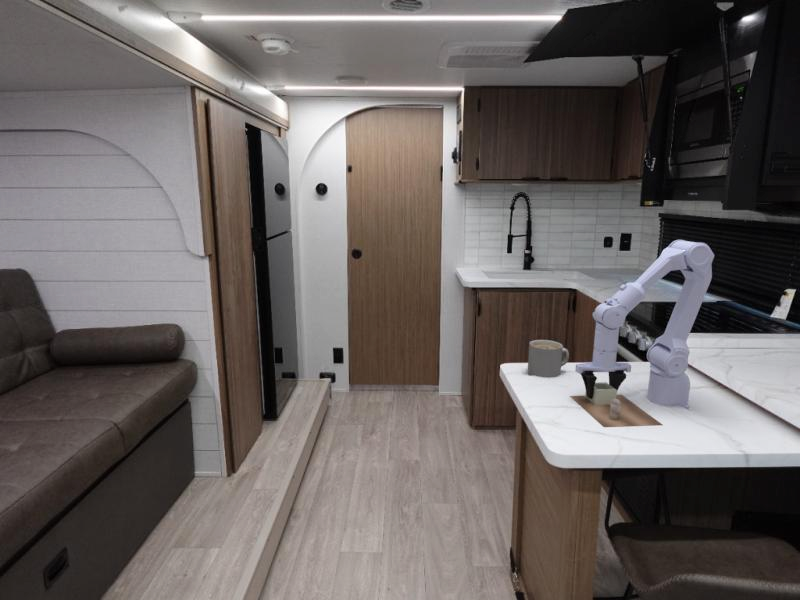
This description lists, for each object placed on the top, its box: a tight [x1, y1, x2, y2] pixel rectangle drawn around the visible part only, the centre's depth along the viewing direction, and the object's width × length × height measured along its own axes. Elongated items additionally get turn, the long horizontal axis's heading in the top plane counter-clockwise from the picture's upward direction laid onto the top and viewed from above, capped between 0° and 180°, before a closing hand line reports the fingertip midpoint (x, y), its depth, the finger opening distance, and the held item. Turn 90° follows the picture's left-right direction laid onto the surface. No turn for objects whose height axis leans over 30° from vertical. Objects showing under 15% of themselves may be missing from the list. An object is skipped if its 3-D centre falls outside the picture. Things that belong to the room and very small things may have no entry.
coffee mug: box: [526, 339, 570, 379], centre depth 156 cm, size 13×10×10 cm
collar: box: [584, 381, 618, 405], centre depth 134 cm, size 6×6×4 cm
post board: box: [569, 394, 663, 428], centre depth 129 cm, size 15×19×6 cm
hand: (600, 397), depth 135 cm, fingers closed on collar, 6 cm apart
